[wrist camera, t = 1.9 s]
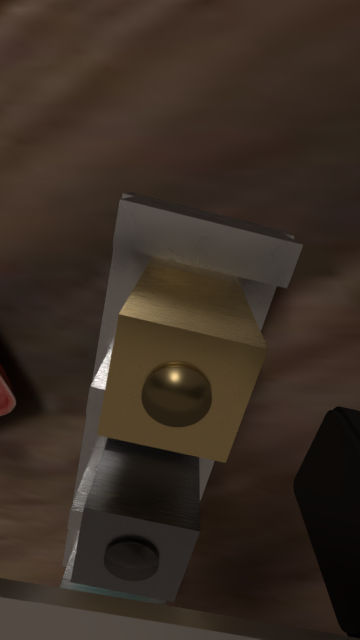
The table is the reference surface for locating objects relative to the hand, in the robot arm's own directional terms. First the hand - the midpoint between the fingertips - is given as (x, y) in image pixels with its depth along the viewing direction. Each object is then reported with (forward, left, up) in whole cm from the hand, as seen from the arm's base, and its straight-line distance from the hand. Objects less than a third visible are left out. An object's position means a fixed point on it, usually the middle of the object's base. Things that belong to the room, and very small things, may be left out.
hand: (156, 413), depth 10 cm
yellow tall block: (-1, 0, -8) cm, 8 cm away
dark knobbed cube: (-1, +8, -8) cm, 12 cm away
